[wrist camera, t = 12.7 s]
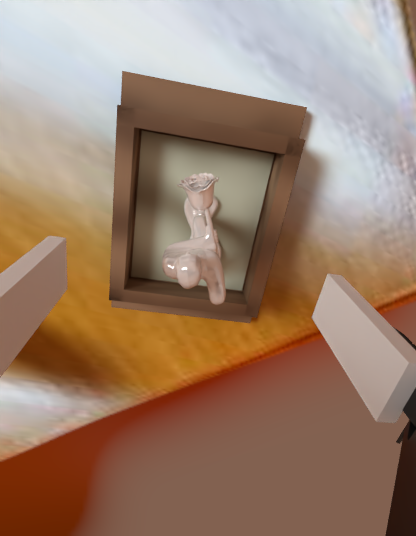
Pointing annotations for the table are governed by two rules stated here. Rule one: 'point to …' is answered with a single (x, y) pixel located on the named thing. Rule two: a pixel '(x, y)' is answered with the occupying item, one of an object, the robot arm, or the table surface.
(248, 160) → the brown picture frame
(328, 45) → the table surface
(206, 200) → the figurine
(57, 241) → the robot arm
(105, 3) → the table surface
